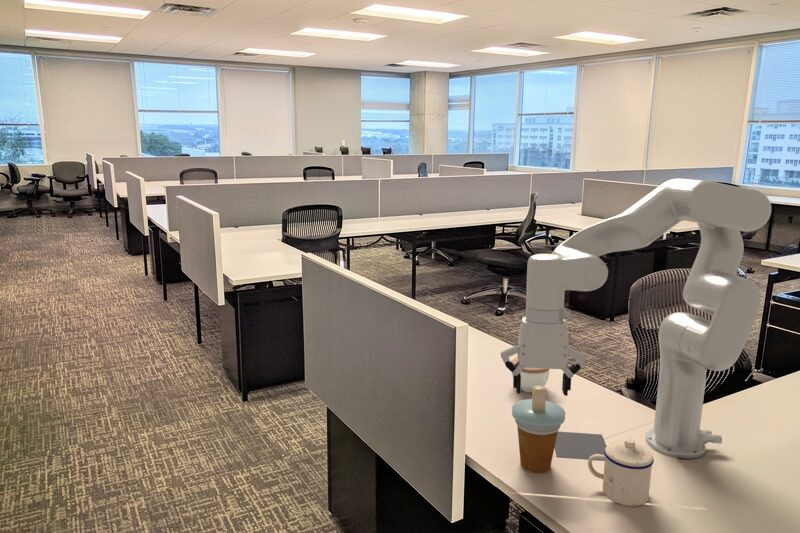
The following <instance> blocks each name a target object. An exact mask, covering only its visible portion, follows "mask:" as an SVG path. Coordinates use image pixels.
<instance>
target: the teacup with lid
mask: <svg viewBox="0 0 800 533" xmlns="http://www.w3.org/2000/svg"><path fill="white" fill-rule="evenodd" d="M606 446H607V447H606V448H605V450H604V454H605V455H601V454H594V455H592V456H590V458H589V460H588V459H587V460H588V462H587V465H588V466H587V467H588V470H589V472H590V473H591V475H593V476H594V477H595V478H598V479H600V480H602V491H603V493H604V495H605V496H606V497H608V499H610V501H612V502H615V503H617V504H619V505H621V506H625V507H626V506H627V507H640V506H643V505H644V504H645V505H646V503H647V502H648V500H649V497H650V487H651V479H652V478H651V476H652V467H653V464H654V462H655V461H654V460H655V459H654V457H653V454H652V452H650V450H648V449H647V448H646V447H644V446H643V445H640V444H637V443H636V442H635V440H633V439H631V438H627V439H624V441H614V442H611V443H609V444H608V445H607V444H606ZM594 459H601V460H605V461H604V464H603V466H604V467H603V473H600V472H598V471H596V469H595V468H594V467H593V461H595V460H594ZM601 460H600V461H601Z"/></svg>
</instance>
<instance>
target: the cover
mask: <svg viewBox="0 0 800 533" xmlns="http://www.w3.org/2000/svg"><path fill="white" fill-rule="evenodd" d="M531 396H532V397H531V398H528V399H522V400H518V401H516V402H515V403H514V404H513V405H512V406H511V415H512V417H513V418H514V420H515V419H516V420H517V421H519V422H520V423H523V424H525V425H528V426H532V427H539V428H550V427H556V426H559V425H562V424H564V422H565V420H566V411H565V409H564V408H563V407H562V406H560V405H559V404H557V403H554V402H552V401H549V400H547V387H545V386H534V387H533V392H532V395H531Z"/></svg>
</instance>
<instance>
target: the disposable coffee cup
mask: <svg viewBox="0 0 800 533" xmlns="http://www.w3.org/2000/svg"><path fill="white" fill-rule="evenodd" d="M514 421H515V423H516V425H517V436H518V448H519V449H518V451H519V459H520V463H519V464H520V466H521V467H522V469H524V470H525V471H527V472H529V473H533V474H544V473H545V474H546V473H547V472H549V471H550V470H551V466H552V462H553V461H552V460H553V457H554V452H555V448H554V447H555V442H556V438H557V433H558V432H559V429H560V428H561V425H562V424H561V425H559V426H556V427H550V428H539V427H532V426H528V425H525V424H523V423H520V422H519V421H517V420H516V419H515V418H514Z"/></svg>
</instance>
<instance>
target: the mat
mask: <svg viewBox="0 0 800 533" xmlns="http://www.w3.org/2000/svg"><path fill="white" fill-rule="evenodd" d="M606 447H607V444H606V441H605V439H604V437H603V434H600V433H599V434H597V433H587V432H585V433H584V432H571V431H558V433H557V438H556V442H555V447H554V452H555V455H556V458H563V459H564V458H565V459H578V460H589V458H590V456H592V455H594V454H601V455H605V454H604V450H605V448H606ZM593 461H604V462H605V460H601V459H594V460H593Z"/></svg>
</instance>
